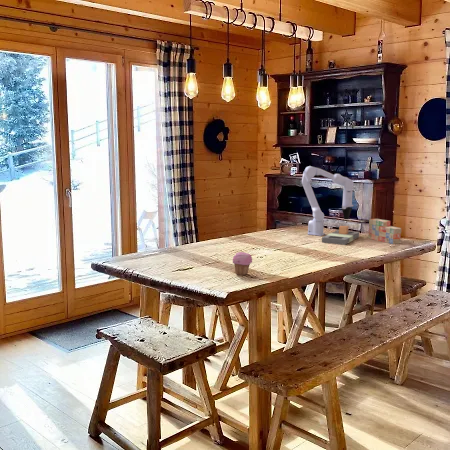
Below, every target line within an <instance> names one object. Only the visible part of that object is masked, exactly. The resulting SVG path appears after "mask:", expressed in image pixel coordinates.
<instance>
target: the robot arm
mask: <svg viewBox="0 0 450 450" xmlns="http://www.w3.org/2000/svg"><path fill="white" fill-rule="evenodd" d="M315 176H323V177H325V178H328V179H331V180H332V183H335V184H336V185H338V186H341V187H343V191H342V205H341V212H342V215H343V219H344V220H349V218H350V214H351V212H352V210H353V207H354V204H353V187H354V186H355V184H354V181H353V180H352V179H350V178H348V177H347V176H343V175H341V174H340V173H334V174H333V173H331V172H328V171H326V170H324V169H322V168H320V167H315V166H311V165H309V166H306V167H305V169H304V171H303V173H302V178H301V185H302V186H303V189H304V192H305V195H306V197H307V200H308V202H309V205H310V206H311V210H312V217H313V219H312V220H311V219H310V220H309V221H308V225H307V235H313V236H320V237H321V236H322V237H323V236H324V235H326V232H324V227H325V225H324V224H325V220H324V219H325V214H324V212H322V210H321V208H320V205H319V203H318V200H317V198H316V196H315V192H314V190H313V188H312V184H311V180H312V179H313V178H314V177H315Z"/></svg>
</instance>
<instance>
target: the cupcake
mask: <svg viewBox="0 0 450 450" xmlns="http://www.w3.org/2000/svg"><path fill="white" fill-rule="evenodd" d="M252 263H253V257H252V255H251V253H250V254H249V253H247V252H243V251H240V252H236V253H235V255H234V256H233V257H232V264H234V272H235V274H236V275H238V276H245V275H247V274H248V273H249V269H250V266H251V265H250V264H252Z"/></svg>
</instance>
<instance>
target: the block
mask: <svg viewBox="0 0 450 450" xmlns="http://www.w3.org/2000/svg"><path fill="white" fill-rule="evenodd" d="M338 230H339V234H348V231H349V226H348V225H340V226H339V228H338Z"/></svg>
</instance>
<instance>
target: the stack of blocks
mask: <svg viewBox="0 0 450 450" xmlns="http://www.w3.org/2000/svg"><path fill="white" fill-rule="evenodd" d="M391 222H392V221H391V220H387V219H380V218H369V219H368V239H371V240H374V241H378V242H383V243H387V244H392V245H395V244H401V235H402V227H397V226H392V225H391Z"/></svg>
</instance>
